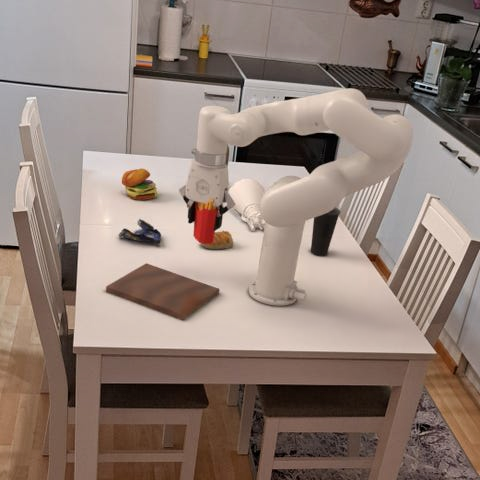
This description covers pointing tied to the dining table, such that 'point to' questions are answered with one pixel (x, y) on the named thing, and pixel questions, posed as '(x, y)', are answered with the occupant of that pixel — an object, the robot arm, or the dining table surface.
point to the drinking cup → (323, 232)
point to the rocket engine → (248, 201)
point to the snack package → (142, 233)
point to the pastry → (220, 241)
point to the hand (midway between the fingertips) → (204, 225)
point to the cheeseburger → (139, 184)
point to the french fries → (204, 222)
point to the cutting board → (163, 291)
